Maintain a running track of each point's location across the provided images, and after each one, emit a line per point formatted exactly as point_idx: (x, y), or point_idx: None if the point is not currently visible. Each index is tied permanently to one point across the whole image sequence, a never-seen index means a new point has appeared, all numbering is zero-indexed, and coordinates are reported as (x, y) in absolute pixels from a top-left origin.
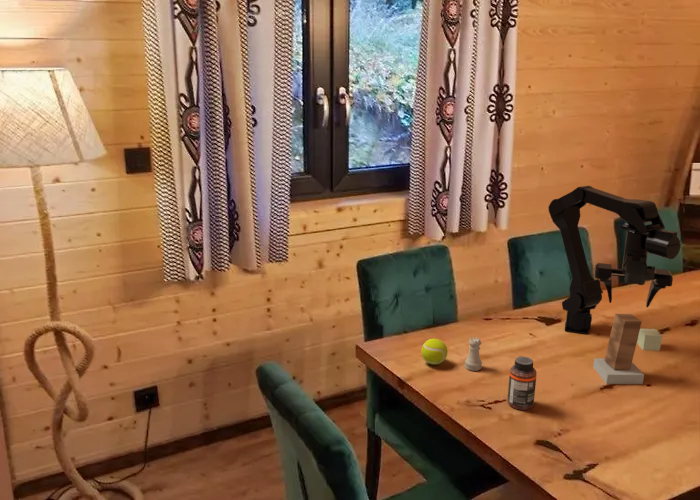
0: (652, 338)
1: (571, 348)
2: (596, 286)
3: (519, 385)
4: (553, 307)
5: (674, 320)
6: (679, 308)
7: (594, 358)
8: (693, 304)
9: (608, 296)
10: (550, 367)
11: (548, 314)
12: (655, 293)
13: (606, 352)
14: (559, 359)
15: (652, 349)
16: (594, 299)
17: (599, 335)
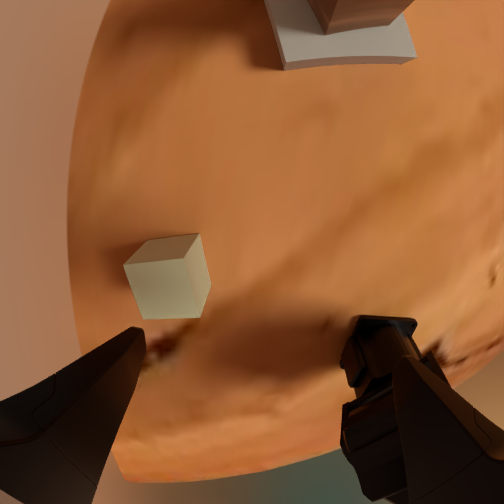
0: (158, 255)
1: (439, 202)
2: (383, 471)
3: None
4: None
5: None
6: (123, 431)
7: (416, 56)
8: None
9: (446, 384)
10: (495, 74)
11: None
12: (22, 395)
13: (400, 13)
14: (479, 120)
15: (168, 238)
16: (388, 415)
17: (324, 317)
